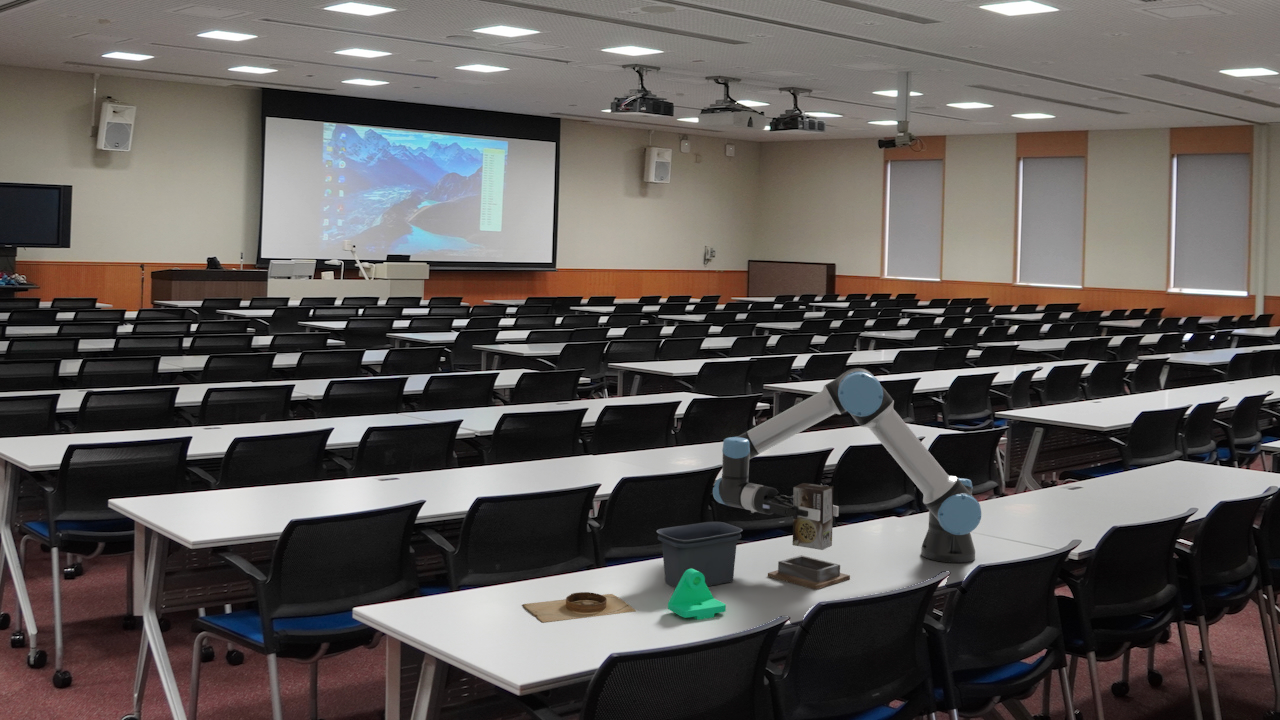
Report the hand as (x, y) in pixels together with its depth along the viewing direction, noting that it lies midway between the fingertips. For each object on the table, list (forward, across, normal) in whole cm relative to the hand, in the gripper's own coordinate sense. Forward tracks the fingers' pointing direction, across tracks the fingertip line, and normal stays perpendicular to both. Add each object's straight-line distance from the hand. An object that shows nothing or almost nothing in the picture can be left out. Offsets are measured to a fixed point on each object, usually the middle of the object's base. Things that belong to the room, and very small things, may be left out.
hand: (828, 513), depth 306 cm
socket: (-5, 0, -18) cm, 19 cm away
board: (-26, +64, -20) cm, 72 cm away
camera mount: (-4, +46, -19) cm, 50 cm away
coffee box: (-5, 0, -10) cm, 11 cm away
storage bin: (-22, +26, -19) cm, 39 cm away
